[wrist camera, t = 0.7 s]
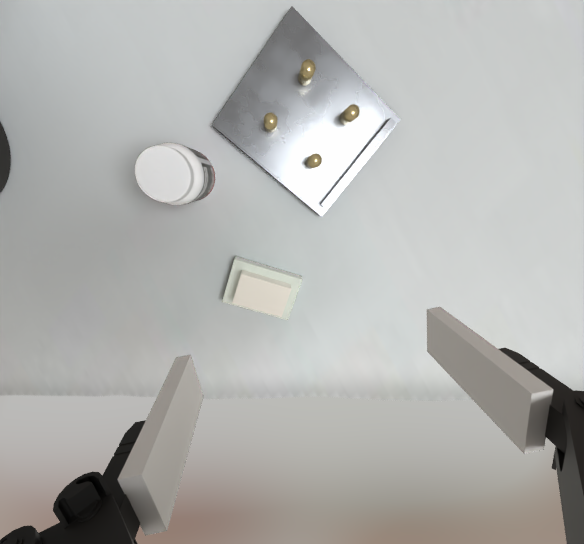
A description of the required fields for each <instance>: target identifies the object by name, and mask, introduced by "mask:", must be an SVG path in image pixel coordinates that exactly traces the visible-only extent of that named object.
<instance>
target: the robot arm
mask: <svg viewBox="0 0 584 544" xmlns="http://www.w3.org/2000/svg"><path fill="white" fill-rule="evenodd" d="M9 170H10V150H9V145H8V141H7V137H6V134H5V132H4V129H3V127H2V125H1V123H0V192H1V191H2V189H3V188H4V186H5V184H6V181H7V179H8V175H9ZM427 352H428V353H429V354H430V355H431V356H432V357H433V358H434V359H435V360H436V361H437V362H438V363H439V364H440V365H441V367H442V368H443V369H444V370H445V371H446V372H447V373H448V374H449V375H450V376H451V377H452V378H453V379H454V380H455V381H456V382H457V383H458V385H459V386H460V387H461V388H462V389H463V390H464V391H465V392H466V393H467V394H468V395H469V396H470V397H471V398H472V399H473V400H474V401H475V403H477V405H478V406H479V407H480V408H481V409H482V410H483V411H484V412H485V413H486V414H487V415H488V416H489V417H490V418H491V419H492V421H493V422H495V424H496V425H497V426H498V427H499V428H500V429H501V430H502V431H503V432H504V433H505V434H506V435H507V436H508V437H509V438H510V440H511V441H513V443H514V444H515V445H516V446H517V447H518V448H519V449H520V450H521V451H522V452H523V453H524V454H525V453H530V452H535V451H540V450H544V445H545V439H546V437H547V438H548V439H549V440H550V441H551V442H552V443H553V444H554V445H555V446H556V447H555V453H554V459H553V464H552V469H555V470H556V468H557V475H558V482H559V489H560V497H561V504H562V511H563V519H564V526H565V533H566V540H567V544H584V391H573V390H571V389H570V388H569V387H567V386H566V385H564V384H563V383H561V382H560V381H558V380H557V379H555V378H554V377H553V376H551V375H550V374H548V373H547V372H545V371H544V370H542V369H539V367H538V366H537V365H535V364H534V363H532V362H530V361H529V360H528V359H526V358H525V357H523V356H522V355H520V354H519V353H517V352H514V351H512V350H509V349H507V348H501V349H497V348H496V347H495V346H493V345H492V344H490V343H489V342H488V341H486V340H485V339H484V338H482V337H481V336H480V335H478V334H477V333H475V332H474V331H473V330H471V329H470V328H469V327H467V326H466V325H464V324H463V323H462V322H460V321H459V320H458V319H456V318H455V317H453V316H452V315H451V314H449V313H448V312H447V311H445V310H444V309H442V308H441V307H437V308H431V309H427ZM203 397H204V395H203V392H202V389H201V386H200V383H199V380H198V376H197V373H196V370H195V367H194V364H193V361H192V358H191V355H187V356H182V357H177V358H176V359H175V361H174V363H173V365H172V368H171V370H170V372H169V374H168V376H167V378H166V380H165V382H164V384H163V386H162V388H161V390H160V392H159V394H158V397H157V399H156V401H155V403H154V405H153V407H152V409H151V411H150V413H149V415H148V417H147V420H145V421H140V422H135V424H133V426H132V427H131V428H130V429H129V430H128V431H127V432H126V433H125V435H124V437H123V438H122V440H121V442H120V444H119V447H118V448H117V450H116V452H115V453H114V457H112V459H111V461H110V463H109V464H108V466H107V468H106V470H105V472H104V474H103V476H102V475H101V474H100V473H99V472H90V473H87V474H84V475H82V476H80V477H78V478H77V479H75V480H74V481H72V482H71V483H70V484H69V485H67V486H66V487H65V488H64V489H63V491H62V492H61V493H60V494H59V495H58V497H57V499H56V501H55V503H54V508H53V511H54V513H55V515H56V516H57V518H58V519H59V521H60V523H58V524H56V525H54V526H52V527H50V528H48V529H46V530H44V531H42V532H40V533H38V532H37V530H36V529H35V528H34V527H32V526H23V527H21V528H18V529H16V530H14V531H12V532H11V533H9V534H8V535H6V536H5V537H3V538H2V539H1V540H0V544H137V542H136V540H135V537H136V534H137V531H138V528H139V526H141V528H142V530H143V532H144V534H145V535H150V534H154V533H159V532H163V531H167V529H168V525H169V522H170V518H171V514H172V510H173V507H174V503H175V499H176V496H177V492H178V489H179V485H180V481H181V478H182V474H183V470H184V467H185V463H186V459H187V455H188V452H189V448H190V445H191V441H192V437H193V434H194V429H195V426H196V422H197V419H198V415H199V411H200V408H201V404H202V400H203Z"/></svg>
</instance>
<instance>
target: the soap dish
mask: <svg viewBox="0 0 584 544" xmlns="http://www.w3.org/2000/svg"><path fill="white" fill-rule="evenodd" d="M302 280H303V279H302V276H300V275H297V274H293V273H290V272H287V271H283V270H280V269H277V268H274V267H270V266H267V265H264V264H260V263H257V262H254V261H251V260H247V259H244V258H241V257H238V256H236V257H235V259H234V262H233V266H232V269H231V273H230V276H229V279H228V283H227V286H226V289H225V293H224V296H223V300H222V302H223V303H227V304H231V305H234V306H238V307H242V308H245V309H249V310H252V311H256V312H260V313H263V314H267V315H271V316H274V317H278V318H282V319H285V320H288V318H289V316H290V313H291V310H292V307H293V305H294V302H295V299H296V296H297V294H298V291H299V288H300V286H301V283H302Z"/></svg>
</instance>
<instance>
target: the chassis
mask: <svg viewBox="0 0 584 544" xmlns="http://www.w3.org/2000/svg"><path fill="white" fill-rule="evenodd" d="M400 120H401V119H400V118H399V117H398V116H397V115H396V113H395V112H394V111H393V110H392V109H391V108H390V107H389V106H388V105H387V104H386V103H385V102H384V101H383V100H382V99H381V98H380V97H379V96H378V95H377V94H376V93H375V92H374V91H373V90H372V89H371V88H370V87H369V85H368V84H367V83H366V82H365V81H364V80H363V79H362V78H361V77H360V76H359V75H358V74H357V73H356V72H355V71H354V70H353V69H352V68H351V67H350V66H349V65H348V64H347V63H346V62H345V61H344V60H343V59H342V58H341V56H340V55H339V54H338V53H337V52H336V51H335V50H334V49H333V48H332V47H331V46H330V45H329V44H328V43H327V42H326V41H325V40H324V39H323V38H322V37H321V36H320V35H319V34H318V33H317V32H316V31H315V30H314V28H313V27H312V26H311V25H310V24H309V23H308V22H307V21H306V20H305V19H304V18H303V17H302V16H301V15H300V14H299V13H298V12H297V11H296V10H295V9H294V8H293V7H291V8H290V10H289V11H288V13H287V14H286V16H285V17H284V19H283V20H282V22H281V23H280V24H279V26H278V27H277V29H276V30H275V32H274V33H273V35H272V36H271V38H270V39H269V41H268V42H267V44H266V45H265V47H264V48H263V50H262V51H261V53H260V54H259V56H258V57H257V58H256V60H255V61H254V63H253V64H252V66H251V67H250V69H249V70H248V72H247V73H246V75H245V76H244V78H243V79H242V81H241V82H240V84H239V85H238V87H237V88H236V90H235V91H234V93H233V94H232V95H231V97H230V98H229V100H228V101H227V103H226V104H225V106H224V107H223V109H222V110H221V112H220V113H219V115H218V116H217V118H216V119H215V121H214V122H213V124H212V126H213V127H215V128H216V129H217V130H218V131H219V132H221V133H222V134H223V135H224V136H225V137H227V138H228V139H229V140H230V141H231V142H233V143H234V144H235V145H236V146H237V147H239V148H240V149H241V150H242V151H243V152H244V153H246V154H247V155H248V156H249V157H250V158H252V159H253V160H254V161H255V162H256V163H258V164H259V165H260V166H261V167H262V168H264V169H265V170H266V171H267V172H268V173H270V174H271V175H272V176H273V177H274V178H276V179H277V180H278V181H279V182H280V183H282V184H283V185H284V186H285V187H286V188H288V189H289V190H290V191H291V192H292V193H294V194H295V195H296V196H297V197H298V198H299V199H301V200H302V201H303V202H304V203H305V204H307V205H308V206H309V207H310V208H311V209H313V210H314V211H315V212H316V213H317V214H319V215H320V216H321V217H322V216H323V215H324V213H325V212H326V211H327V210H328V208H329V207H330V206H331V205H332V203H333V202H334V201H335V200H336V199H337V197H338V196H339V195H340V194H341V192H342V191H343V190H344V189H345V187H346V186H347V185H348V184H349V183H350V181H351V180H352V179H353V178H354V176H355V175H356V174H357V173H358V172H359V170H360V169H361V168H362V167H363V165H364V164H365V163H366V162H367V160H368V159H369V158H370V157H371V156H372V154H373V153H374V152H375V151H376V149H377V148H378V147H379V146H380V144H381V143H382V142H383V141H384V140H385V138H386V137H387V136H388V135H389V133H390V132H391V131H392V130H393V128H394V127H395V126H396V125H397V124H398V122H399V121H400Z"/></svg>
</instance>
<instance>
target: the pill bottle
mask: <svg viewBox="0 0 584 544" xmlns="http://www.w3.org/2000/svg"><path fill="white" fill-rule="evenodd" d="M135 177H136V180H137V183H138V185H139V187H140V188H141V189H142V191H143V192H144V193H145V194H146V195H147V196H149V197H150V198H152V199H154V200H156V201H160V202H164V203H167V204H171V205H183V204H187V203H190V202H194V201H197V200H200V199H203V198H204V197H206V196H207V195H208V194H209V193H210V192H211V191H212V189H213V187H214V183H215V172H214V169H213V166H212V164H211V163H210V161H209V160H208V159H207V158H206V157H205V156H204V155H203V154H201V153H200V152H198V151H195V150H193V149H190V148H188V147H185V146H183V145H180V144H176V143H162V144H159V145H156V146H152V147H149V148H147V149H145V150H144V151H143V152H142V153H141V154H140V155H139V156H138V158H137V160H136V163H135Z"/></svg>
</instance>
